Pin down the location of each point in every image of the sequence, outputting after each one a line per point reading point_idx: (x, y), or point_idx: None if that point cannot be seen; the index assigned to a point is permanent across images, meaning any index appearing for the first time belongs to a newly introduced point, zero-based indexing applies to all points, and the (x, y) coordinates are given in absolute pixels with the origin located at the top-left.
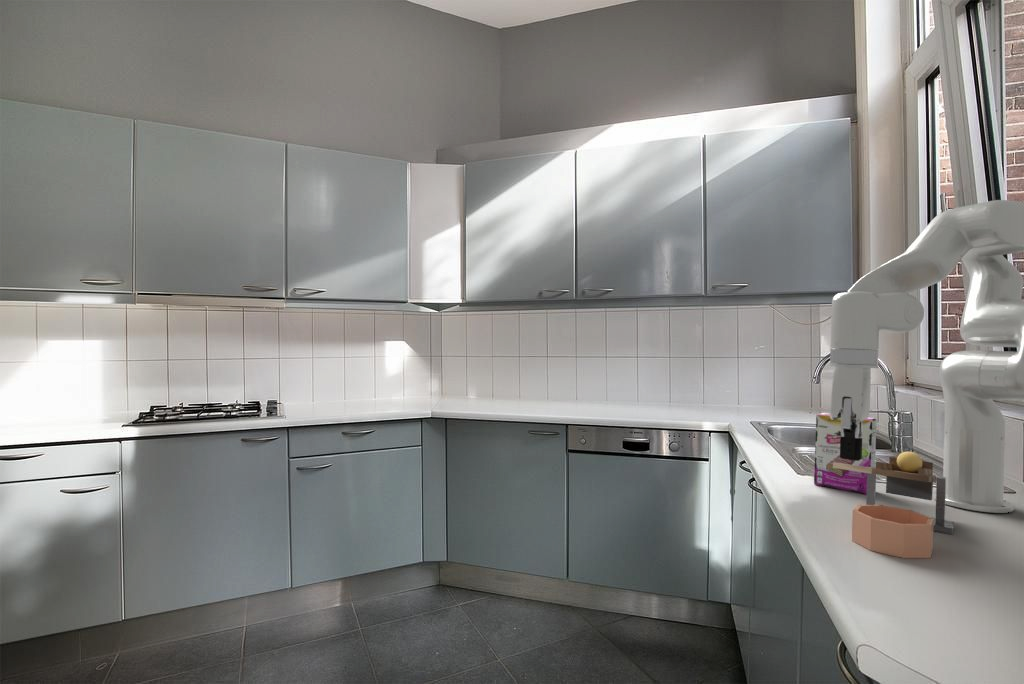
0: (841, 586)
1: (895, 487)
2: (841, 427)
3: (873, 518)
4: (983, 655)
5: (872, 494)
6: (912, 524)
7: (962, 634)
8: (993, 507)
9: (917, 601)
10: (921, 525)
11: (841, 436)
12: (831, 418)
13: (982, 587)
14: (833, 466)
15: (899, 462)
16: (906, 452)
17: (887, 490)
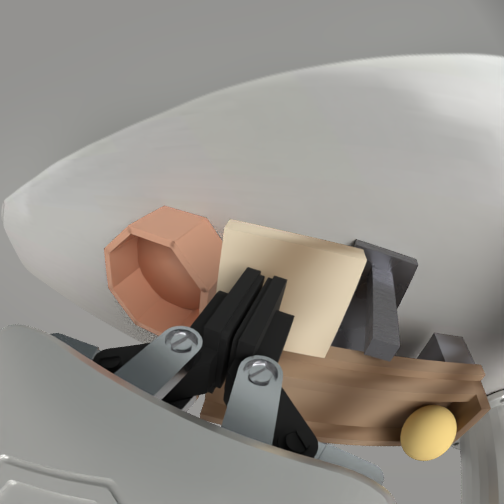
0: (40, 188)
1: (429, 359)
2: (134, 359)
3: (106, 252)
4: (28, 261)
5: (367, 300)
6: (119, 300)
7: (37, 259)
8: None
9: (54, 245)
10: (126, 311)
11: (177, 327)
12: (20, 325)
13: (115, 312)
14: (227, 223)
15: (423, 418)
16: (426, 452)
17: (434, 339)
